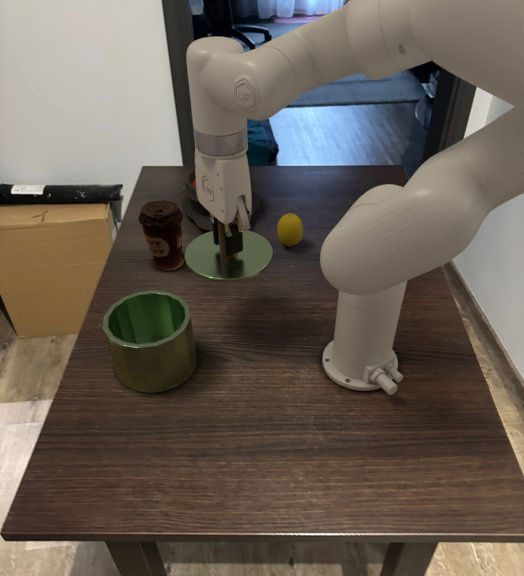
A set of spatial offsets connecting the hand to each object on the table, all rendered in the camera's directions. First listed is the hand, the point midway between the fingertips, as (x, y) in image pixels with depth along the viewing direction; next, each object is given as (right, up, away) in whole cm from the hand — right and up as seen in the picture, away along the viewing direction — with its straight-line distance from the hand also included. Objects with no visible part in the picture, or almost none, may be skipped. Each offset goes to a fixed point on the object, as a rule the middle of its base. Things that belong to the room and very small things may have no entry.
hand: (228, 246), depth 88 cm
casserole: (-4, +16, +39) cm, 43 cm away
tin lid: (0, -1, +1) cm, 2 cm away
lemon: (+12, +5, +28) cm, 31 cm away
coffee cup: (-14, +1, +24) cm, 28 cm away
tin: (-12, -20, +3) cm, 23 cm away
